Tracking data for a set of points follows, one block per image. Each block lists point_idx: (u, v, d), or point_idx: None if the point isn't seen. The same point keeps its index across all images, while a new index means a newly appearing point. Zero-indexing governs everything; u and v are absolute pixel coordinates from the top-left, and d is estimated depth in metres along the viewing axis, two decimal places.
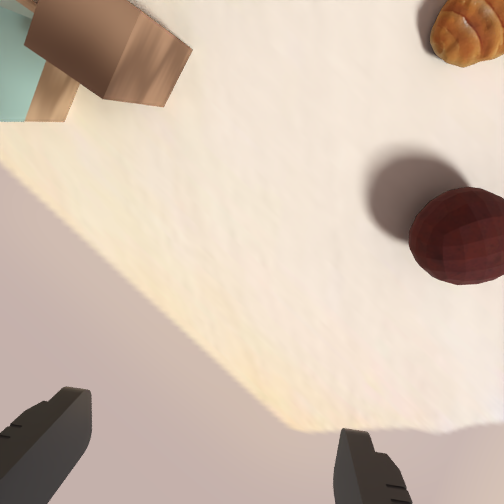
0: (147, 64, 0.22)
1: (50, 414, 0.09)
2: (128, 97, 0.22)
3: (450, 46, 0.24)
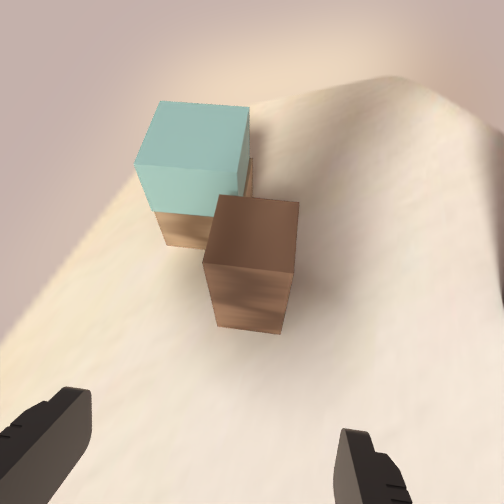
0: (250, 296, 0.22)
1: (50, 414, 0.09)
2: (213, 287, 0.21)
3: None
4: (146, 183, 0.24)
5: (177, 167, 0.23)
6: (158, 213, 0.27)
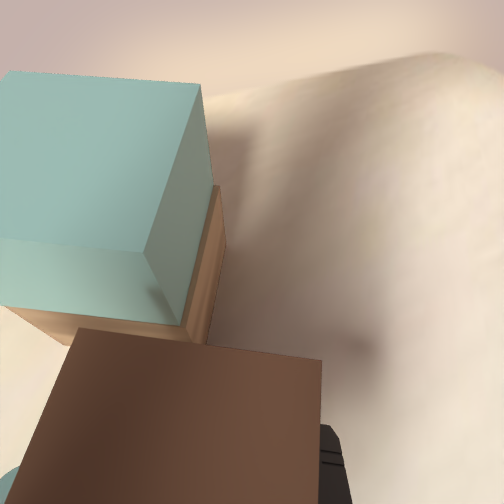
0: None
1: None
2: None
3: None
4: None
5: None
6: (14, 308, 0.13)
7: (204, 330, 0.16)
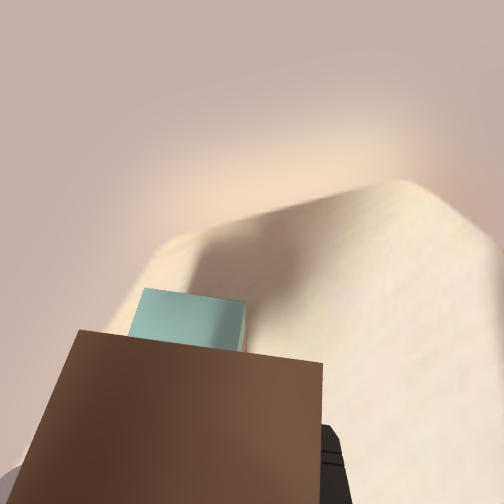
0: None
1: None
2: None
3: None
4: None
5: None
6: None
7: None
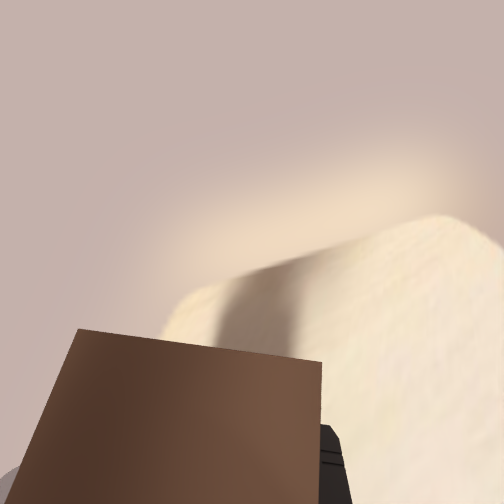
0: None
1: None
2: None
3: None
4: None
5: None
6: None
7: None
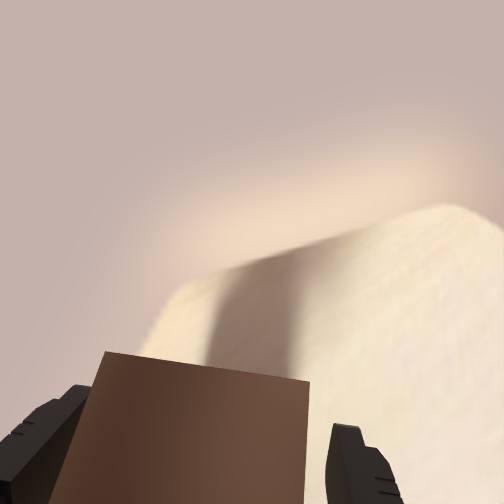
0: None
1: (62, 411, 0.09)
2: None
3: None
4: None
5: None
6: None
7: None
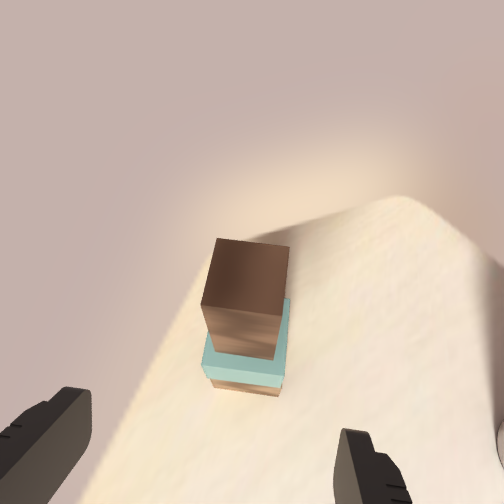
0: (244, 330, 0.24)
1: (50, 414, 0.09)
2: (210, 323, 0.23)
3: None
4: (208, 370, 0.30)
5: (236, 369, 0.29)
6: None
7: None
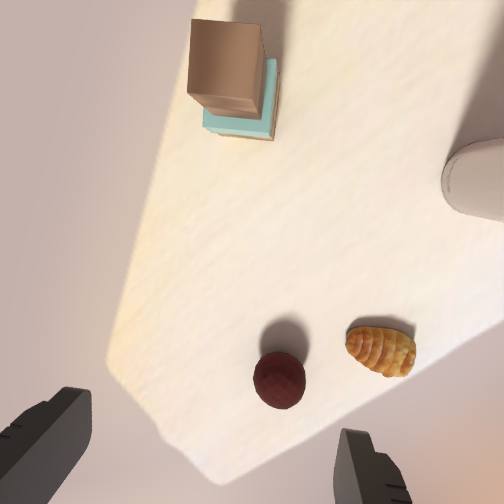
0: (228, 105, 0.29)
1: (50, 414, 0.09)
2: (200, 101, 0.29)
3: (351, 343, 0.48)
4: (209, 129, 0.38)
5: (230, 129, 0.36)
6: None
7: (274, 130, 0.44)
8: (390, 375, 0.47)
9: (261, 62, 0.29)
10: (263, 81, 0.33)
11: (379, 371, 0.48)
